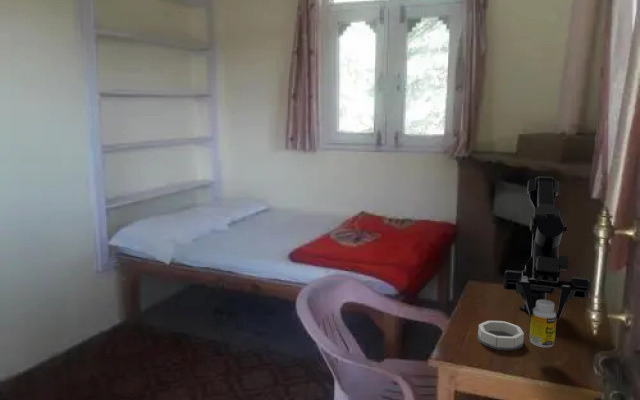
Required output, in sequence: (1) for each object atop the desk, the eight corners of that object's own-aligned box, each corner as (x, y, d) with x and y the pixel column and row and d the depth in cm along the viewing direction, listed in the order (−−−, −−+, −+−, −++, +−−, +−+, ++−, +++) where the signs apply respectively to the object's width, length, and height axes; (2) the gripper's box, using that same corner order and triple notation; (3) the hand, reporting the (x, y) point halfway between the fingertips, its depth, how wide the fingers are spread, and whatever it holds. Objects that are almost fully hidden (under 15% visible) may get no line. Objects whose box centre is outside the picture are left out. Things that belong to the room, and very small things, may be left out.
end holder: (493, 327, 145) (494, 316, 144) (531, 341, 136) (532, 330, 136) (468, 338, 138) (469, 327, 137) (507, 354, 129) (508, 342, 129)
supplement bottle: (545, 350, 122) (548, 308, 120) (524, 341, 127) (527, 301, 125) (559, 344, 125) (563, 303, 123) (538, 335, 130) (541, 296, 128)
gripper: (507, 238, 128) (503, 297, 120) (593, 245, 122) (595, 308, 114) (505, 259, 137) (501, 316, 129) (585, 267, 131) (586, 327, 123)
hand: (544, 317), depth 123 cm, fingers closed on supplement bottle, 5 cm apart
